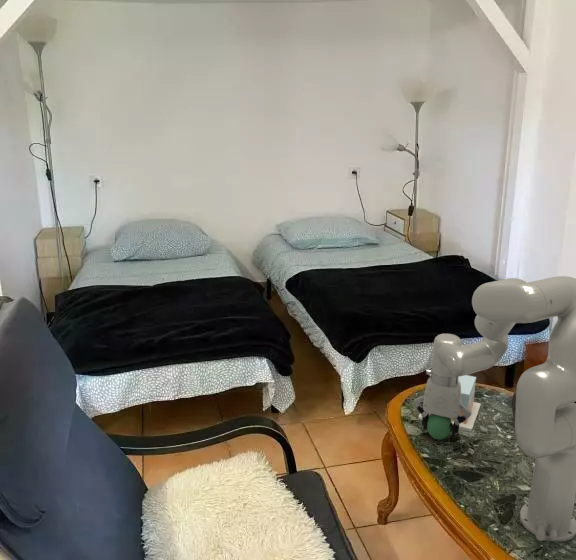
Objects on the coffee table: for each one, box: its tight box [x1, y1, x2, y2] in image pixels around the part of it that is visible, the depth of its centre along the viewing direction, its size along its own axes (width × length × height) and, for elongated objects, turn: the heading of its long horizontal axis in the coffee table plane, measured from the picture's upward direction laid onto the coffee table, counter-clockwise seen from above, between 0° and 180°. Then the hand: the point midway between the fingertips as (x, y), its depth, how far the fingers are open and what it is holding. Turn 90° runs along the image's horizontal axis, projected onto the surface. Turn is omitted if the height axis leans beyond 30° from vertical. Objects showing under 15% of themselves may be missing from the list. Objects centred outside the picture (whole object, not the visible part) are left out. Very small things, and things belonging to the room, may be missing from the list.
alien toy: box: [426, 414, 453, 441], centre depth 174 cm, size 7×8×10 cm
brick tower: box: [418, 374, 482, 433], centre depth 187 cm, size 16×16×11 cm
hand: (439, 430), depth 175 cm, fingers closed on alien toy, 7 cm apart
